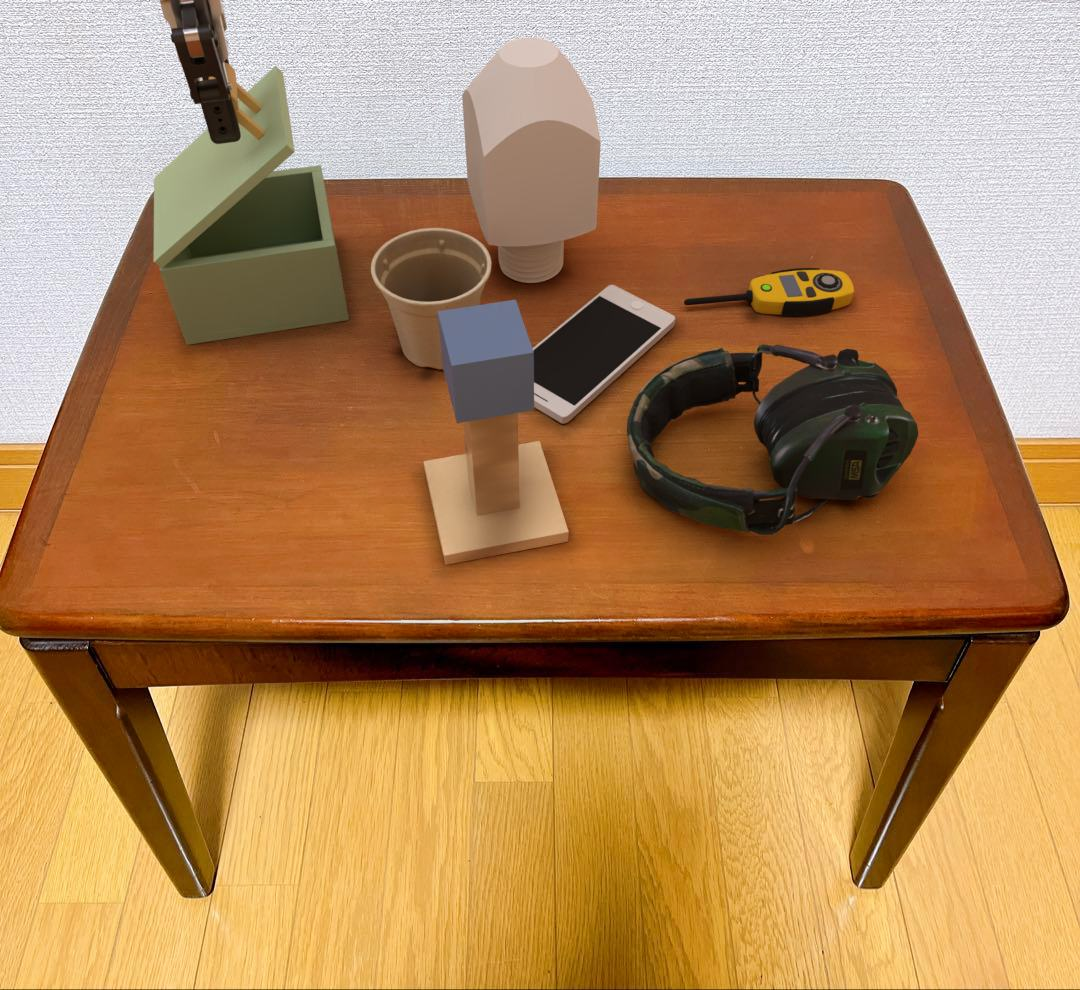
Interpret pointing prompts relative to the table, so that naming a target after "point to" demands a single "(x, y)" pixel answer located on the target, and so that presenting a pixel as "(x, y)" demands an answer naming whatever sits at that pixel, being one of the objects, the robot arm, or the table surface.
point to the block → (487, 360)
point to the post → (494, 494)
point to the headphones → (778, 434)
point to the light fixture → (531, 156)
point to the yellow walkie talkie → (793, 292)
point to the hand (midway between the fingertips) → (225, 120)
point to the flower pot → (429, 284)
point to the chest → (261, 264)
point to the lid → (221, 166)
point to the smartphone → (594, 350)
